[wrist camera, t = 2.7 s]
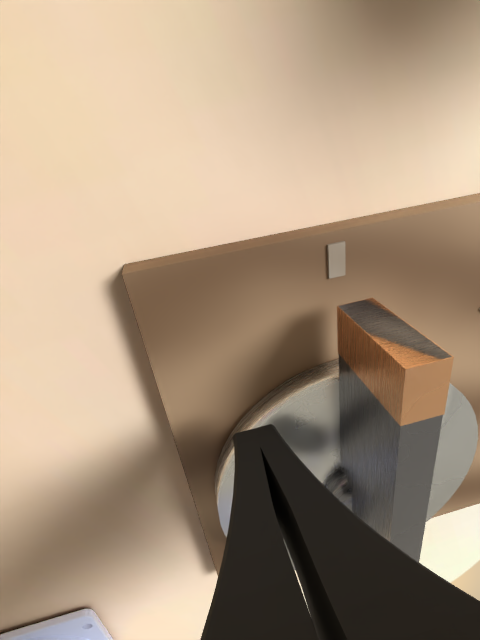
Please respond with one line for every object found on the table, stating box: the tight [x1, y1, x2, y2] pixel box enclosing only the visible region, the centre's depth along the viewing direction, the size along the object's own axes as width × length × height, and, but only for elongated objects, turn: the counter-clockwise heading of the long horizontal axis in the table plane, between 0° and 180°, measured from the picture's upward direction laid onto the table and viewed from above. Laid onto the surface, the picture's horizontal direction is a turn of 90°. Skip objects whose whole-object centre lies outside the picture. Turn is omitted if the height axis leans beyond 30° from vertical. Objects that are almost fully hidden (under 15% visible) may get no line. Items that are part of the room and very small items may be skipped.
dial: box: [214, 298, 478, 570], centre depth 14 cm, size 15×12×5 cm
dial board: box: [122, 193, 480, 576], centre depth 17 cm, size 18×16×1 cm
